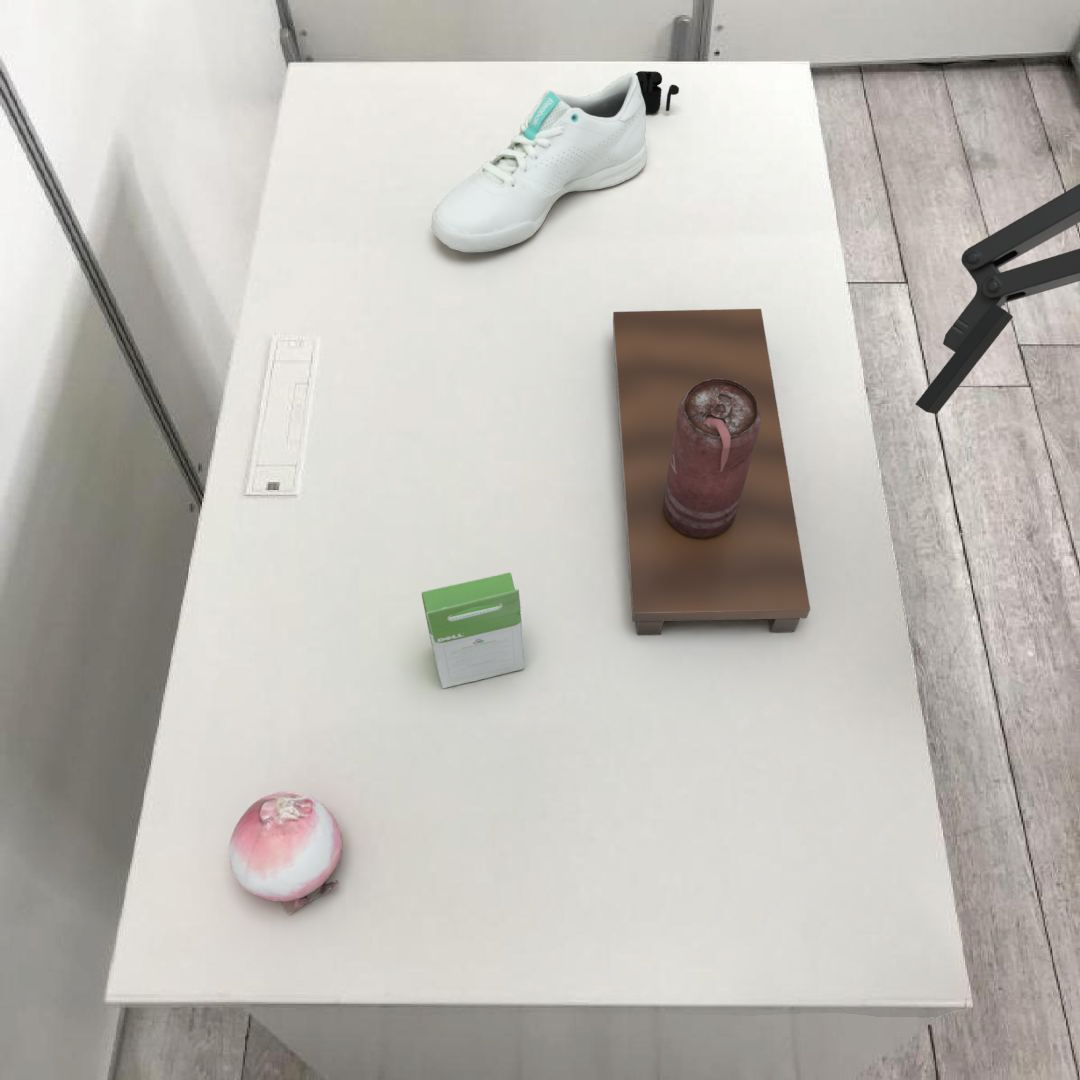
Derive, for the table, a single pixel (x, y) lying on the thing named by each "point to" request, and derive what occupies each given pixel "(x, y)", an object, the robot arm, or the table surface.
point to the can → (710, 456)
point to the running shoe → (547, 166)
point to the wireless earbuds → (654, 90)
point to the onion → (285, 848)
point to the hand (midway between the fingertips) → (1029, 483)
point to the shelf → (646, 441)
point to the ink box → (475, 629)
